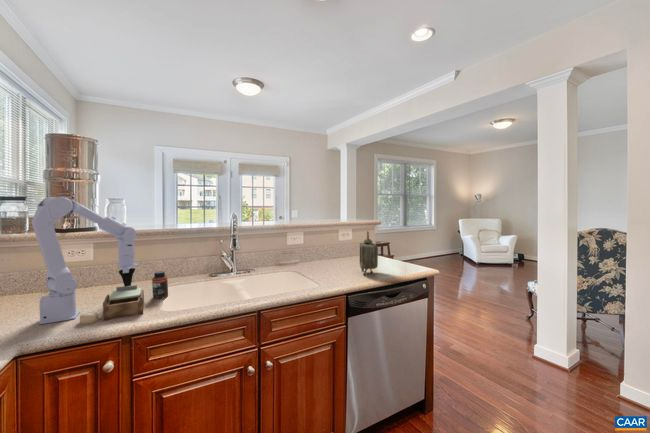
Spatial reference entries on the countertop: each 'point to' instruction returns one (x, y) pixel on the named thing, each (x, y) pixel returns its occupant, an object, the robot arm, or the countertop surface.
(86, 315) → the beige square block
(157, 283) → the supplement bottle
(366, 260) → the green suitcase
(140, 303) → the box
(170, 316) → the countertop surface
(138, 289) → the lid
